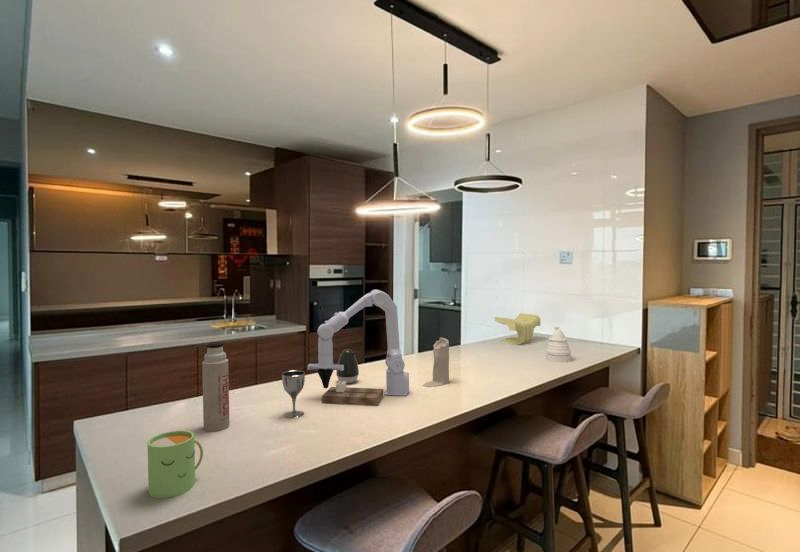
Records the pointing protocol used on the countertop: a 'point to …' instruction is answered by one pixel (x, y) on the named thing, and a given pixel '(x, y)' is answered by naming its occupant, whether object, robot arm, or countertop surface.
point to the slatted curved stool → (521, 327)
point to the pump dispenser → (348, 366)
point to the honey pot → (558, 348)
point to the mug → (172, 463)
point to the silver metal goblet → (293, 389)
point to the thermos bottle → (215, 388)
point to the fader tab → (341, 386)
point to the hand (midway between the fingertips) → (325, 387)
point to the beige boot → (440, 363)
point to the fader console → (353, 396)
